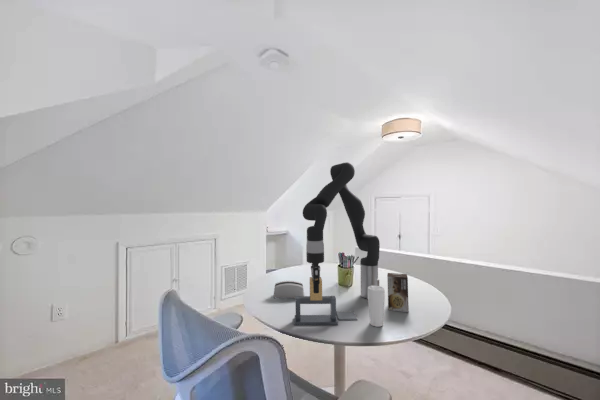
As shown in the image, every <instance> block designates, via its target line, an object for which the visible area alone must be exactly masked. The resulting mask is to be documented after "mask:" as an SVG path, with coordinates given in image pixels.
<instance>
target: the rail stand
mask: <svg viewBox="0 0 600 400" xmlns="http://www.w3.org/2000/svg"><path fill="white" fill-rule="evenodd" d="M301 305H330V307H329V308H330V309H329V311H330V314H301ZM336 311H337V298H336V295H322V300H310V295H308V296H307V295H306V296H305V295H304V296H296V298H295V315H294V320H293V321H294V323H293V325H294V326H338V325H339V320H338V317H337V313H336Z"/></svg>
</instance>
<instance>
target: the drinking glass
mask: <svg viewBox="0 0 600 400" xmlns="http://www.w3.org/2000/svg"><path fill="white" fill-rule="evenodd" d="M385 297H386V295H385V287H382V285H381V286H380V285H379V286H369V287H368V299H367V305H368V314H369V324H370V325H371V326H373V327H376V328H379V327H382V326H383V325H384V311H385V300H386V299H385Z"/></svg>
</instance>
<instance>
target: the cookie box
mask: <svg viewBox="0 0 600 400" xmlns="http://www.w3.org/2000/svg"><path fill="white" fill-rule="evenodd" d="M386 278H387V310H388V311H392V312H393V311H395V312H404V313H409V312H410V311H409V283H408V282H409V279H408V274H407V273H397V272H396V273H394V272H387V277H386Z"/></svg>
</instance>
